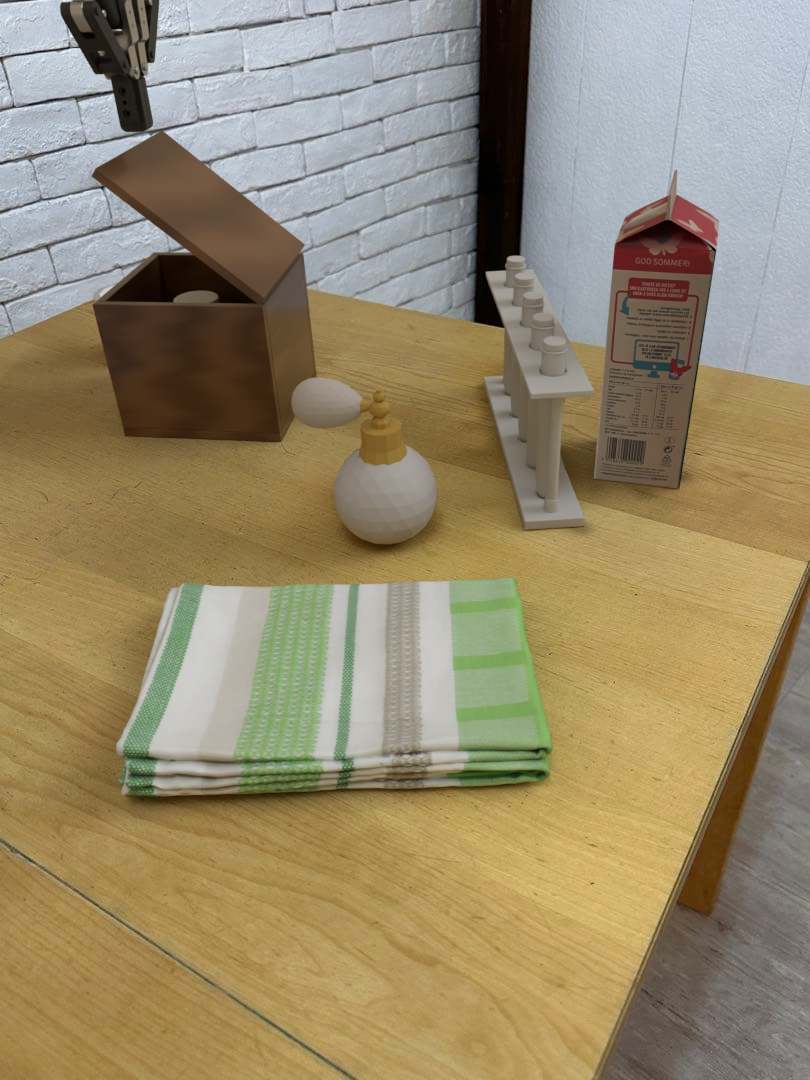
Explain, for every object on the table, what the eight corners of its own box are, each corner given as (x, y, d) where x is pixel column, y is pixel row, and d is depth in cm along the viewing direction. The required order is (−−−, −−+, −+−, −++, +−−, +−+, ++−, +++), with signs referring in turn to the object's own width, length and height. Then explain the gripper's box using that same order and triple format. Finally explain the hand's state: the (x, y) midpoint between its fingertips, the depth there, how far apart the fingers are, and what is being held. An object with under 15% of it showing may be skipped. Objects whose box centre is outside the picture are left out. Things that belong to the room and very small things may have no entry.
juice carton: (593, 478, 72) (619, 192, 60) (604, 439, 77) (629, 168, 65) (679, 488, 70) (724, 196, 58) (684, 447, 76) (726, 171, 63)
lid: (91, 176, 68) (95, 168, 68) (158, 137, 79) (162, 130, 79) (258, 305, 72) (264, 297, 72) (300, 251, 83) (305, 244, 83)
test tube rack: (483, 384, 87) (484, 246, 80) (529, 381, 87) (534, 243, 80) (524, 530, 67) (531, 364, 59) (583, 526, 67) (598, 360, 59)
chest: (124, 435, 82) (91, 304, 75) (178, 372, 93) (153, 252, 86) (280, 442, 80) (262, 307, 72) (316, 375, 90) (303, 252, 83)
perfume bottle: (446, 555, 65) (442, 404, 58) (310, 570, 64) (290, 419, 57) (430, 500, 71) (425, 356, 64) (306, 513, 70) (287, 369, 63)
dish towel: (176, 604, 61) (166, 563, 59) (515, 587, 61) (516, 545, 59) (116, 812, 47) (100, 767, 45) (556, 791, 47) (559, 744, 45)
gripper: (77, -134, 69) (126, 114, 79) (-15, -140, 58) (56, 149, 68) (171, -140, 67) (209, 113, 77) (95, -146, 57) (150, 148, 67)
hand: (137, 129), depth 73 cm, fingers closed
